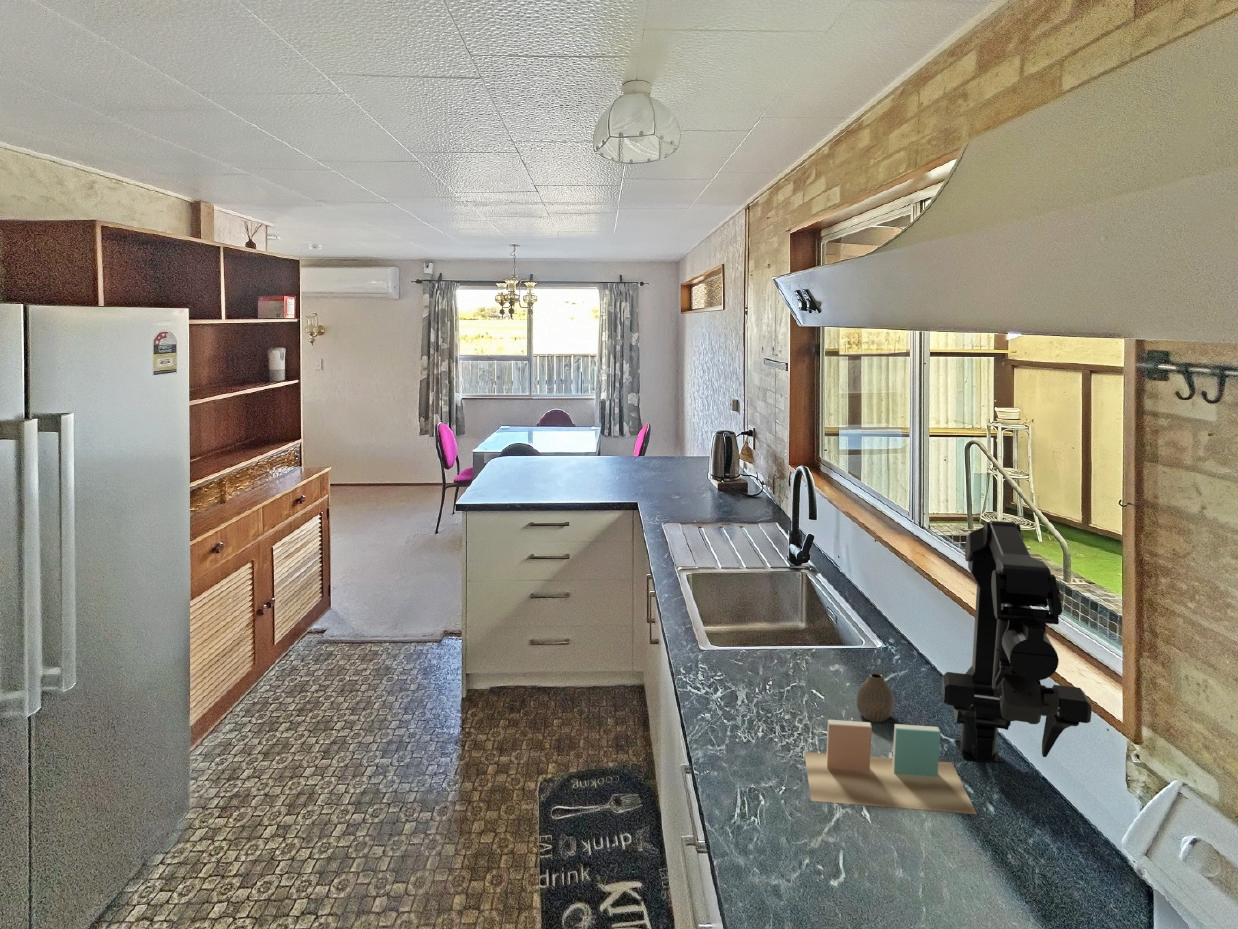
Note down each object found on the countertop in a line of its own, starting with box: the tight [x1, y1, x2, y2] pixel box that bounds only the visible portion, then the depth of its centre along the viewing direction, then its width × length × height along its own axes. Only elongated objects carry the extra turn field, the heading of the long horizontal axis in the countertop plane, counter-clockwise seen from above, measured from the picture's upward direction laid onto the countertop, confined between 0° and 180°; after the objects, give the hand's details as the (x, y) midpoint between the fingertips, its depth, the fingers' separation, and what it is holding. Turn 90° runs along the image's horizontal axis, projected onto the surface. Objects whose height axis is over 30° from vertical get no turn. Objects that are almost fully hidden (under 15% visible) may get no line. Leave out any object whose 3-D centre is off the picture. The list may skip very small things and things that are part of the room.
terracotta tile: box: [825, 719, 873, 771], centre depth 135 cm, size 2×7×8 cm, turn 81°
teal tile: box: [892, 723, 941, 776], centre depth 134 cm, size 2×7×8 cm, turn 81°
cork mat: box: [803, 751, 977, 815], centre depth 132 cm, size 15×25×1 cm, turn 81°
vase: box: [855, 672, 895, 723], centre depth 153 cm, size 7×7×9 cm
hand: (1008, 750), depth 115 cm, fingers open, 9 cm apart
